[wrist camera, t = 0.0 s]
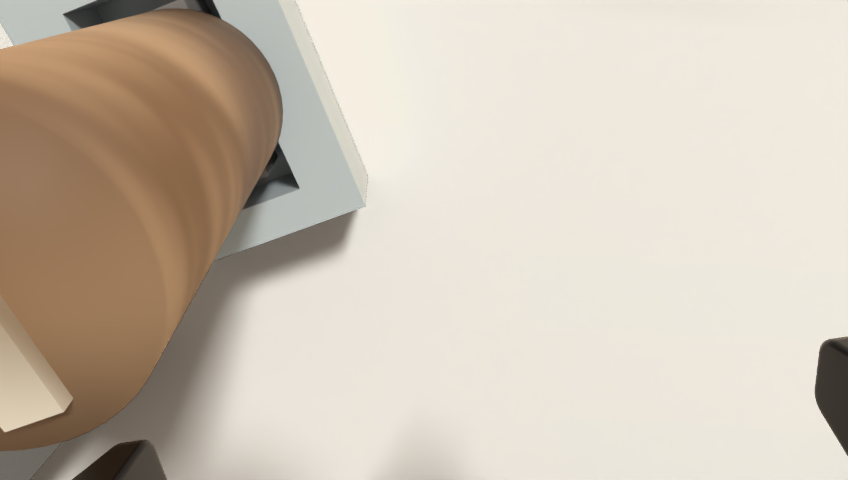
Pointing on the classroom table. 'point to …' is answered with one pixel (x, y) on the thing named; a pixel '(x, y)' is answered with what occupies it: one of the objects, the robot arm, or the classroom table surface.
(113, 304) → the knob
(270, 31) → the rest block
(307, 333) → the classroom table surface
